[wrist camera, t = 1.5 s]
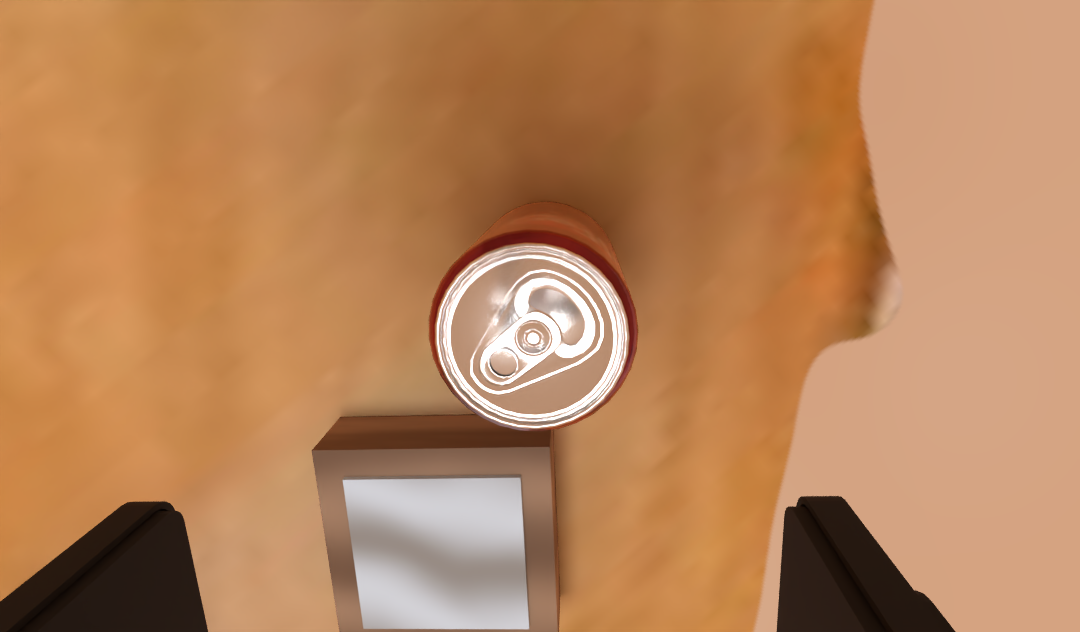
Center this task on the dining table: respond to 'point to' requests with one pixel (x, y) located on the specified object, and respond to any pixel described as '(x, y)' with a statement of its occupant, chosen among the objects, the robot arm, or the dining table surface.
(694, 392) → the dining table surface
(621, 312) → the soda can
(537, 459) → the pedestal
